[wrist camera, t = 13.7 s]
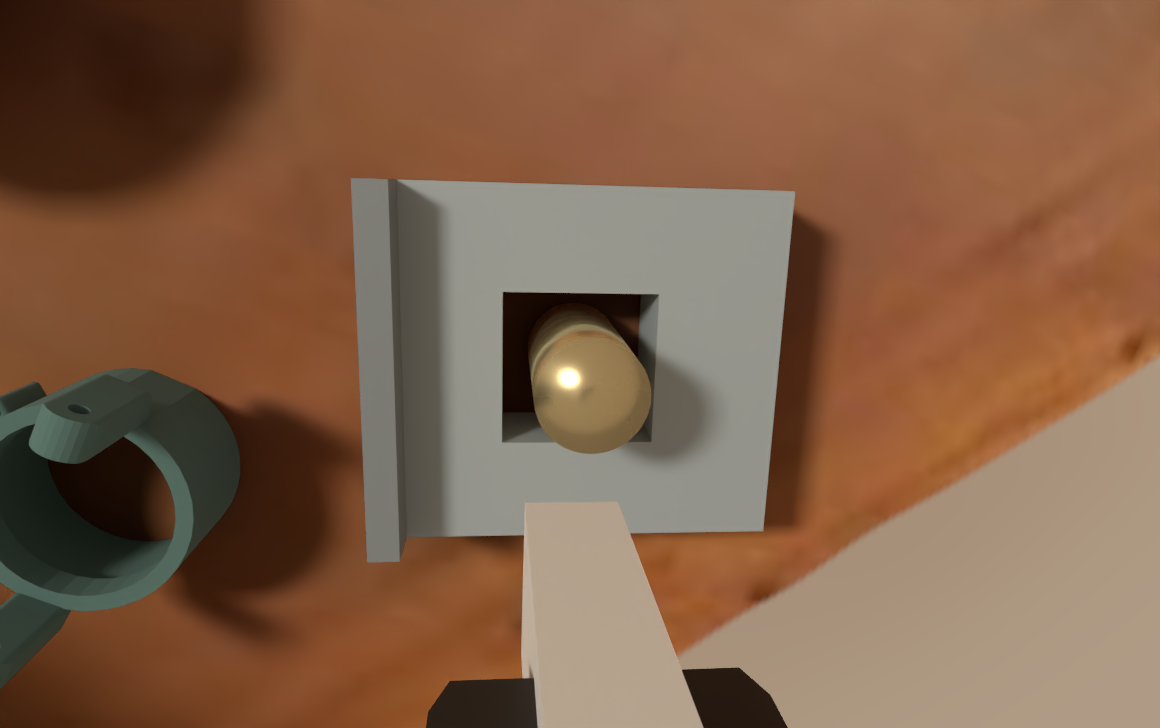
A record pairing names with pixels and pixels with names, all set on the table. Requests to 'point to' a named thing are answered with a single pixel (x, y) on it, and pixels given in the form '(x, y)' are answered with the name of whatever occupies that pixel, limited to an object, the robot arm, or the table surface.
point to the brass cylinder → (585, 380)
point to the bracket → (71, 544)
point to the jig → (564, 265)
